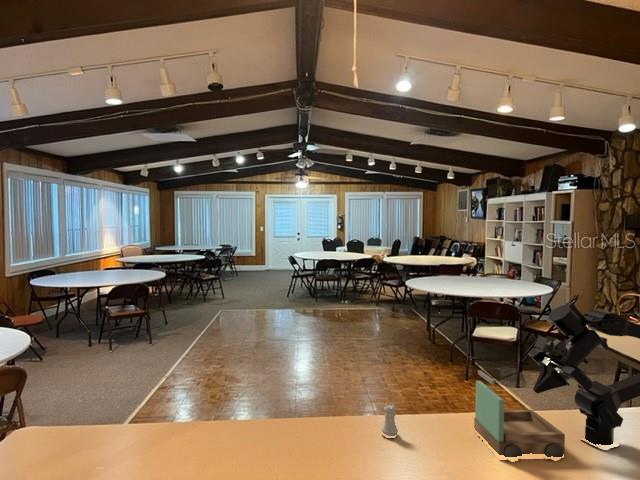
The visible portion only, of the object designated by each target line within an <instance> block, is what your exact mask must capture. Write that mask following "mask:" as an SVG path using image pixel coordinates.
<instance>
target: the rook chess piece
mask: <svg viewBox="0 0 640 480" xmlns="http://www.w3.org/2000/svg"><path fill="white" fill-rule="evenodd" d="M383 410H384V416H385V417H384V424H383V425H382V427H381V432H383V433H384V434H386V435H388V436H395V435H397V433H398V432H399V430H398V428H397V425H396V421H395V419H396V418H395V417H396V414H395V413H396V411H397V408H396V406H395V404H393V403H386V404H384V408H383Z"/></svg>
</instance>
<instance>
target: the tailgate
mask: <svg viewBox="0 0 640 480" xmlns="http://www.w3.org/2000/svg"><path fill="white" fill-rule="evenodd" d="M477 375H479V376H480V378H483V379H484V381H486V382H488V383H489V384H491V386H495V385H496V384H495V380H494V379H493V378H492V377H490V376H489V375H488V374H486V373H485V372H483V370H481V369H480V370H479V369H478V370H477ZM474 408H475V411H474V418H476V419H477V420H478V421H479V422H480V423H481V424H482V425H483V426H484V427H485V428H486V429H487V430H488V431H489V432H490V434H491V435H492V436H493V437H494V438H495V439H496V440H497V441H498V442H503V439H504V410H505V399H504V398H503V397H501V396H500V395H499V394H498V393H496V392H495V391H494V390H492V389H491V388H490V387H488V385H486V384H485V383H483V382H482V381H481V380H475V405H474Z"/></svg>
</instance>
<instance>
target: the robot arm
mask: <svg viewBox="0 0 640 480" xmlns="http://www.w3.org/2000/svg"><path fill="white" fill-rule="evenodd" d="M548 319H549V321H550V322H551V323H553V325H554V326H555V327H556V328H557V329H558V330H559V331H560V332H561V333H562V334H563V335H564V336H565V337H569V338H568V339H567V340H566V341H562V340H559V339H557V338H556V339H555V340H553V341H552V340H551V339H549V338H546V337H544V336H541V335H538V338H537V340H536V341H535V344H534V348H531V350H530V351H529V352H527V354H528V356H529V357H530V358H531V359H532V360H533V361H534V362H535V363H536V364H537V365H538V366H539V368H540V369H539V370H540V371H539V374H538V377H537V379H536V381H535V384H534V386H533V389H532V390H533V392H534V393H535V394H541V393H543V392H547V391H549V390H554V389H558V388H562V387H566V386H567V387H570V386H571V384H570V381H571V380H573V381H575V382H576V383H577V388H578V389H577V390H576V391H575V395H574V403H575V405H576V407H578V409H579V413H580V414H583V415H584V416H586V418H585V427H584V436H585V439H586V440H588V441H589V442H591V443H593V444H595V445H596V444H598V445H599V444H601V445H611V444H613V442H614V439H615V438H614V433H615V432H614V431H615V429H616V428H620V427H622V424H623V422H624V417H622V416H621V414H619V413H618V411H619V410H620V407H621V405H622V404H624V403H626V402H629V401H632V400H634V399H636V398H640V372H638V373H637V374H634V375H631V376H629V377H626V378H623V379H621V380H618V381H617V382H613V383H611V384H609V385H606V384H603V383H601V382H599V381H597V380H593V381H592V379H591V378H589V376H588V375H587V374H586V373H585V372H584V371H583V370H582V369H581V368H579V367H580V365H582V364H583V365H588V363H589V360H588V357H589V356H591V355H592V354H593V352H594V351H595V350H596V349H598V348H601V349H604V350H607V351H608V350H609V344H608V338H606V337H602V336H600V334H598V333H601V334H603V335H607V336H612V337H633V338H637V339H639V340H640V323H635V322H633V321H631V320H629V319H628V318H626V317H624V316H622V315H619V314H618V313H615V312H611V311H607V310H604V309H603V310H602V309H599V308H593V309H592V310H590V311H589V312H587V313H586V312H585V313H581V312H580V310H578V308H577V307H576V305H575V304H574V302H573V303H572V302H566V303H565V304H562V305H560V306H558V307H556V308H553V309H552V310H551V311H550V312H549V314H548Z"/></svg>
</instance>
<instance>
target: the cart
mask: <svg viewBox="0 0 640 480" xmlns="http://www.w3.org/2000/svg"><path fill="white" fill-rule="evenodd" d="M473 420H474V423H473V424H474V425H473V429H474V428H475V430H476V431H477V432H478V433H479V434H480V435H481V436H482V437H483V438H484V439H485V440H486V441H487V442H488V444H489V445H490V446H491V447H492V448H493V449H494V450H495V451H496V452H497V453H498V454H499V455H504V456H505V457H517V456H522V454H530V453H532V454H545V455H546V456H547V457H551V456H553V457H562V456H563V454H564V455H565V451H566V450H565V446H566V445H565V441H566V437H565V436H566V435H565V433H564V432H562V430H560V429H559V428H557V427H556V426H554V425H553V424H552V423H551V422H549V421H548V420H546V419H545V418H544V417H542V416H541V415H540V414H538V413H537V412H535V410H533V409H504V439H503V442H498V441H497V440H496V439H495V438H494V437H493V436H492V435H491V434H490V432H489V431H488V430H487V429H486V428H485V427H484V426H483V425H482V424H481V423H480V422H479V421H478V420H477V419H476V418H475V417H474V419H473Z"/></svg>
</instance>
